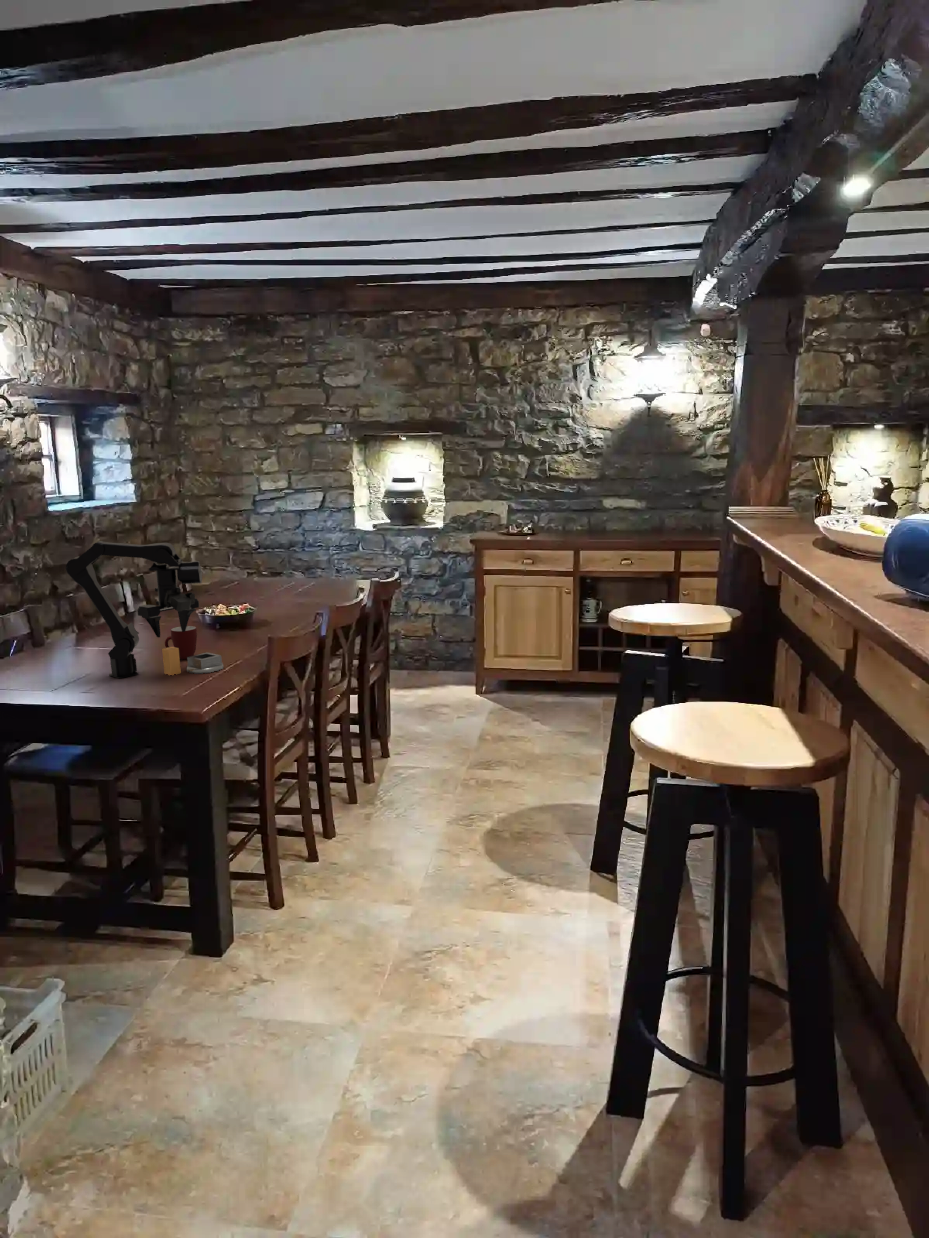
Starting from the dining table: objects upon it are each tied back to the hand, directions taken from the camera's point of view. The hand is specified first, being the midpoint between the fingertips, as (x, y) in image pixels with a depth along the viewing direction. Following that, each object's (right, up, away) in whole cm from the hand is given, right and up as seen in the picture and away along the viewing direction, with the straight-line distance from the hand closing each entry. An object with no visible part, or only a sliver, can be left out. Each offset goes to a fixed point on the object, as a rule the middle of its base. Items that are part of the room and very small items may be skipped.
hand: (171, 634), depth 273 cm
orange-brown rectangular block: (0, -12, +1) cm, 12 cm away
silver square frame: (+9, -11, +5) cm, 15 cm away
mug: (-3, -8, +20) cm, 22 cm away
